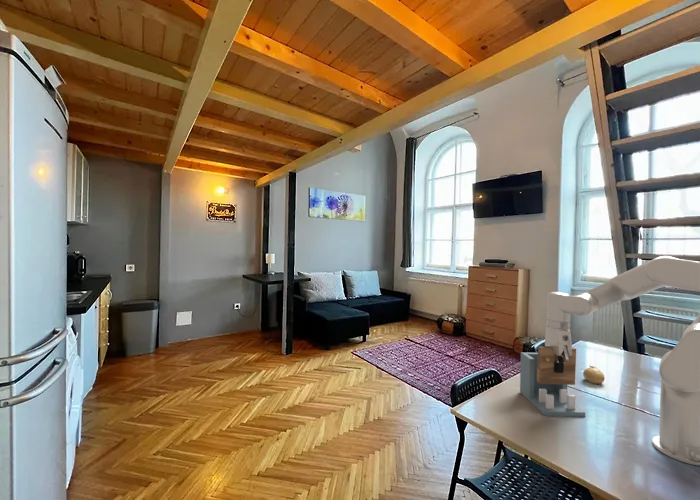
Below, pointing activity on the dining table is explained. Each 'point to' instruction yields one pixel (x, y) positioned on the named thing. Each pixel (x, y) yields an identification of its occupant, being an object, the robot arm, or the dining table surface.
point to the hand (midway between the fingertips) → (556, 370)
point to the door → (547, 367)
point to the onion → (593, 375)
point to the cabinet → (545, 391)
